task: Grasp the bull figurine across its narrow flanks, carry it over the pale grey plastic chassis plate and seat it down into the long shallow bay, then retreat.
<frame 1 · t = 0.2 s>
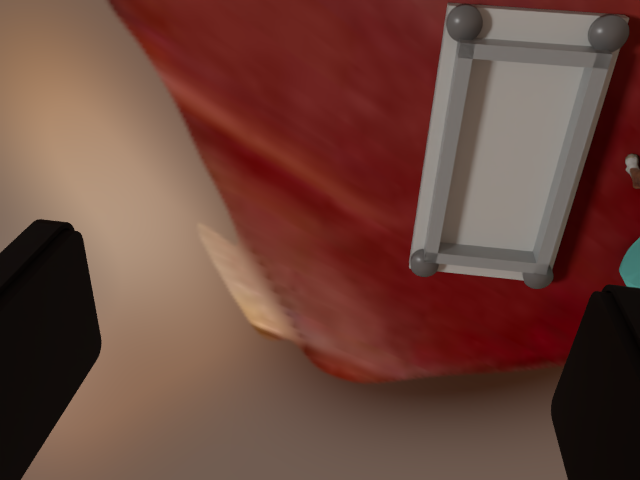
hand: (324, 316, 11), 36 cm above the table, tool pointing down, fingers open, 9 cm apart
chassis: (502, 155, 47), on the table
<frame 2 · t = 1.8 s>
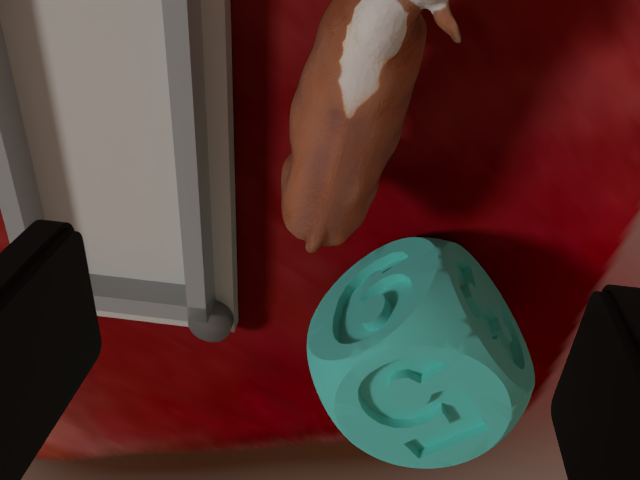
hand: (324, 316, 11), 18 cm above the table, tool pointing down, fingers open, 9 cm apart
decorative dice: (417, 297, 33), on the table
bull figurine: (367, 52, 26), on the table
chassis: (114, 134, 29), on the table
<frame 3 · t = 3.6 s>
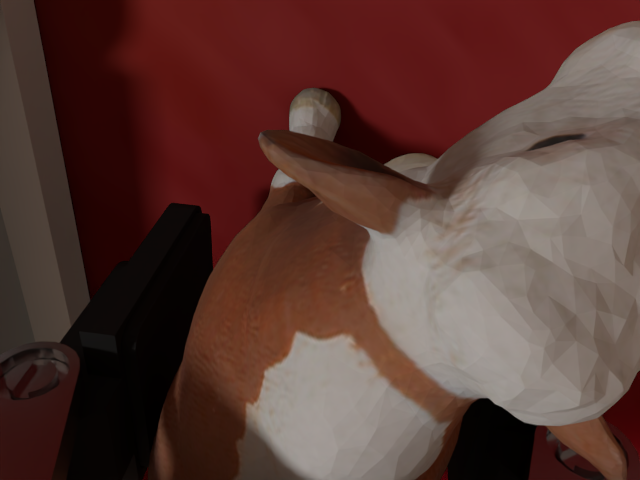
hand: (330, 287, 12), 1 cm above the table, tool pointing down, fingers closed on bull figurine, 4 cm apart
bull figurine: (338, 244, 13), on the table, touching gripper
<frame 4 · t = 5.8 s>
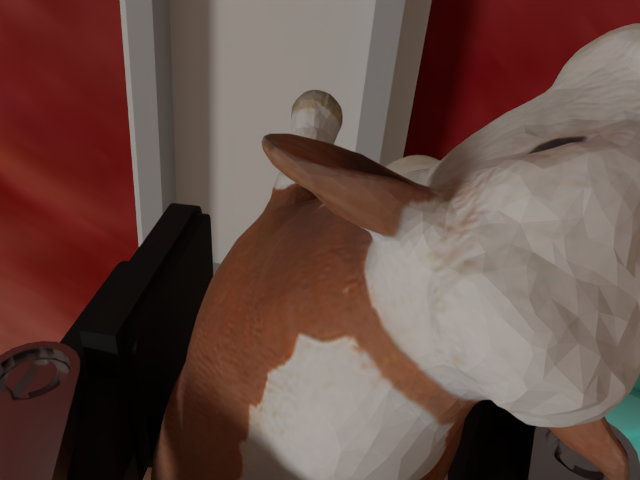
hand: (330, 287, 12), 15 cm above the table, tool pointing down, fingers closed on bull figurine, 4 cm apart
decorative dice: (581, 302, 29), on the table
bull figurine: (340, 245, 13), point 14 cm above the table, touching gripper
chassis: (270, 105, 26), on the table
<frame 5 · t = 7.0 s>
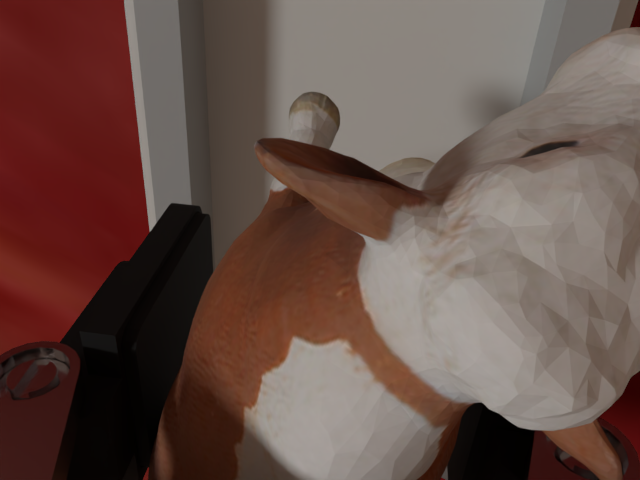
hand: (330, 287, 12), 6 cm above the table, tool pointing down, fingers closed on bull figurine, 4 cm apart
bull figurine: (338, 247, 13), point 5 cm above the table, touching gripper
chassis: (354, 161, 17), on the table
when the fingers open (3 cm above the table, at t = 7.9 s): bull figurine drops 1 cm, resting on chassis.
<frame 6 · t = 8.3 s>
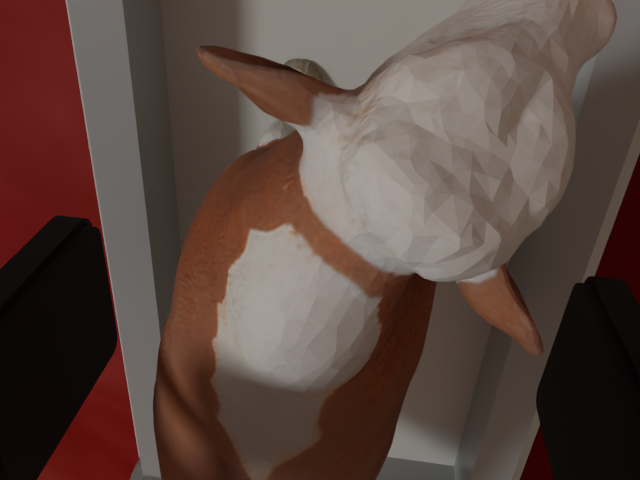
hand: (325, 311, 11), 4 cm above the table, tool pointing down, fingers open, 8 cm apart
bull figurine: (331, 208, 14), point 1 cm above the table, touching chassis
chassis: (345, 203, 15), on the table
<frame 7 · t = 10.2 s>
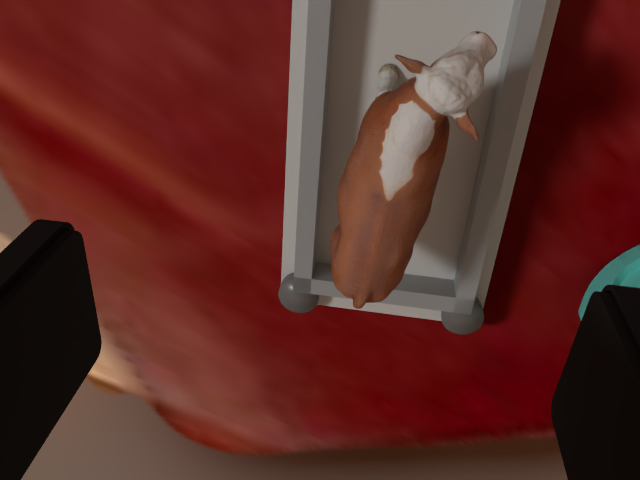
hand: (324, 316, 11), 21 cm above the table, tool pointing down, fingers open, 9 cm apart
bull figurine: (397, 133, 31), point 1 cm above the table, touching chassis
chassis: (403, 133, 31), on the table
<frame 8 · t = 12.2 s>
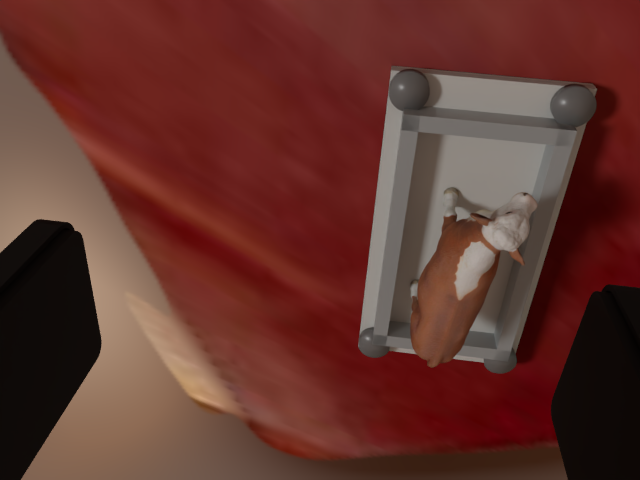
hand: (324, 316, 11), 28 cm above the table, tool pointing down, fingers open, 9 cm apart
bull figurine: (455, 232, 41), point 1 cm above the table, touching chassis
chassis: (458, 230, 42), on the table
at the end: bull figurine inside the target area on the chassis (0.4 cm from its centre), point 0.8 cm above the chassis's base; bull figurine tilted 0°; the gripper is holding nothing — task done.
